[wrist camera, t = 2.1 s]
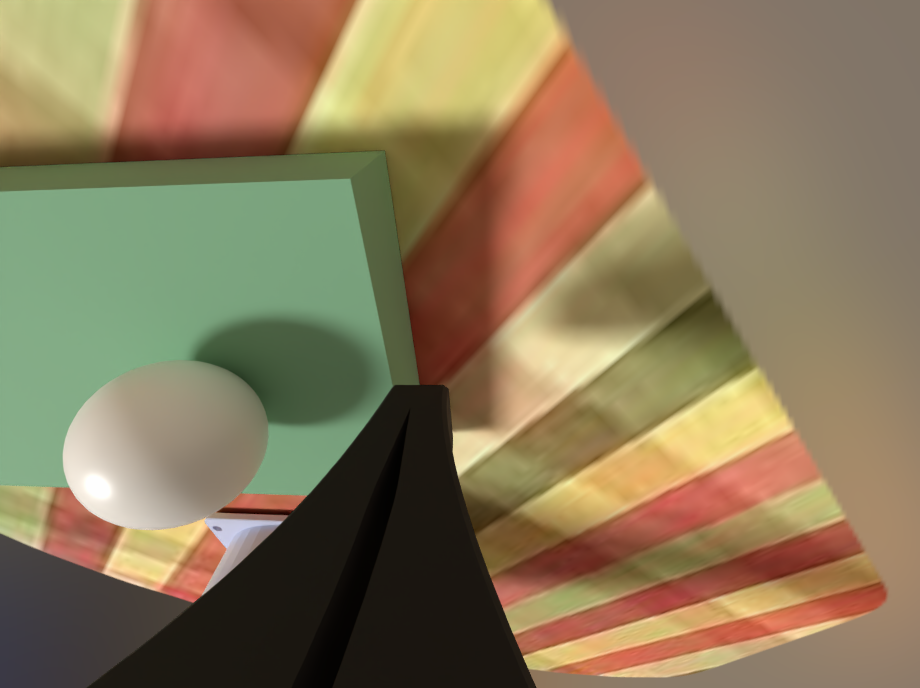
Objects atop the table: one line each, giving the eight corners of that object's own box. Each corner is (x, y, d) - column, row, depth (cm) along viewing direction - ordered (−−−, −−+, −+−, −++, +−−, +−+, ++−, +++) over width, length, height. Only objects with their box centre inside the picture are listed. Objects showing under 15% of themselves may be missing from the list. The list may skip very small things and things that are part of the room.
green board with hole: (431, 465, 18) (414, 584, 14) (-68, 452, 20) (-211, 551, 16) (384, 150, 10) (310, 210, 6) (-426, 185, 12) (-890, 246, 8)
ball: (309, 433, 12) (244, 567, 9) (191, 431, 12) (86, 558, 9) (266, 328, 10) (154, 459, 7) (121, 329, 10) (-53, 453, 7)
